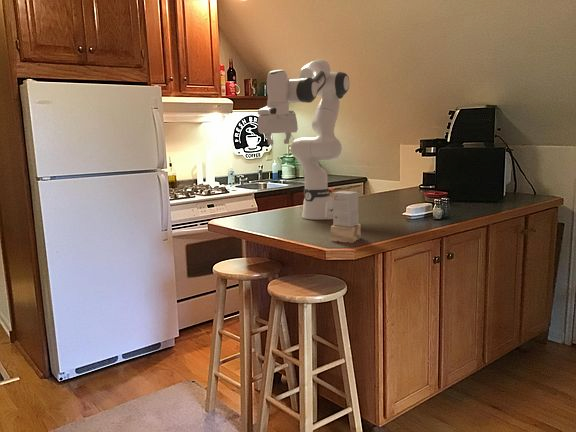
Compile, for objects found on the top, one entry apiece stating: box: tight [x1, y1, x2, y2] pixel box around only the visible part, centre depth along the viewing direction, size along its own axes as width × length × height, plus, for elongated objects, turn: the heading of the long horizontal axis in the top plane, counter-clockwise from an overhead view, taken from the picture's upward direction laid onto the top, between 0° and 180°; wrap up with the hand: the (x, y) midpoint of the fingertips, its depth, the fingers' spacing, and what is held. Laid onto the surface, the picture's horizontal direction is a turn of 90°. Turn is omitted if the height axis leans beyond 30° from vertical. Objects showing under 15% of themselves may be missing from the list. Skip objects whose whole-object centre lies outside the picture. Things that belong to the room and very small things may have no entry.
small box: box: [332, 190, 360, 227], centre depth 204 cm, size 8×6×13 cm
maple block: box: [330, 223, 362, 244], centre depth 206 cm, size 9×9×6 cm
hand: (278, 144), depth 217 cm, fingers open, 8 cm apart
